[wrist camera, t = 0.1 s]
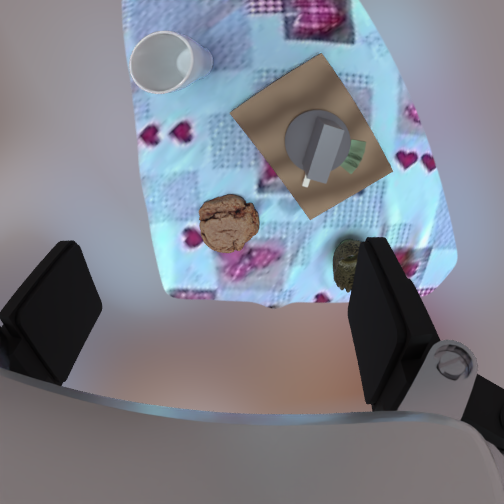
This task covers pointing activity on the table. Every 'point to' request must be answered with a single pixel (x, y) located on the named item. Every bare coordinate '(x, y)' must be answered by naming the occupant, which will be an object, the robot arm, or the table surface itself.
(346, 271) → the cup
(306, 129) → the tuning knob
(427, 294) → the table surface
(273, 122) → the wooden board
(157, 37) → the drinking glass
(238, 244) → the cookie
